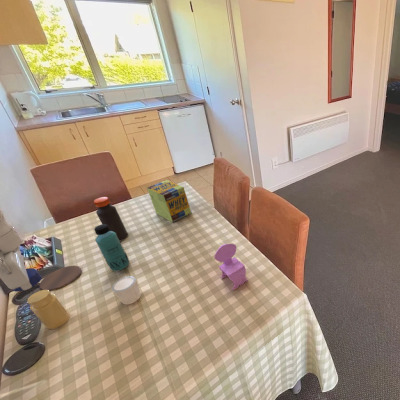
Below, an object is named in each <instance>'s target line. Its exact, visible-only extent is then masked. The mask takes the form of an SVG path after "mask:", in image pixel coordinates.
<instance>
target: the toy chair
mask: <svg viewBox="0 0 400 400" xmlns="http://www.w3.org/2000/svg"><path fill="white" fill-rule="evenodd" d="M236 252H237V245H236V244H235V243H224V244H222V245H220V246H219V248H218V249H217V250H216V252H215V254H214V260H216V261H217V262H218V263H219V262H220V263H223V264H221V265H219V266H218V268H219V271H221V273H222V274H221V277H220V279H221V278H222V279H224V278H226V277H228V278H229V280H230V281H232V283H233V288H232V291H235V290H236V289H238V288H239V287H241V286H242V285H244V284H245V283H247V282H248V279H247V277H246V273H247V269H246V266H245V265H244V263H242V262H241V261H240V260H239V259H238V258H237V257H235V255H236ZM226 275H227V276H226ZM223 277H224V278H223ZM222 279H221V280H222ZM245 281H246V282H245ZM244 282H245V283H244ZM242 283H243V284H242ZM241 284H242V285H241ZM239 285H240V286H239ZM238 286H239V287H238ZM235 288H236V289H235Z"/></svg>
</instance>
